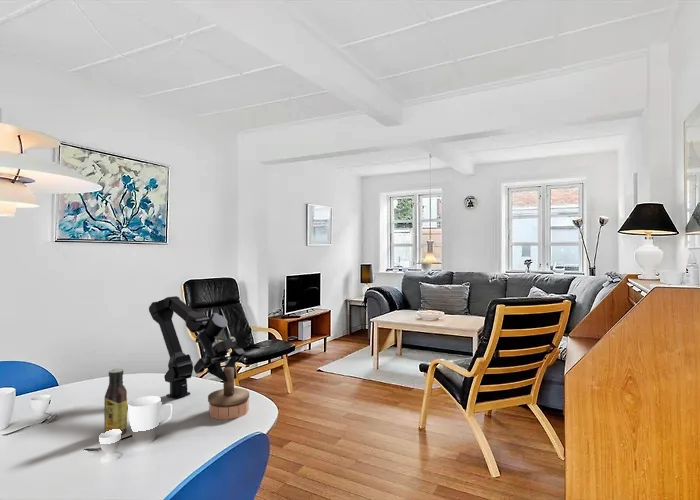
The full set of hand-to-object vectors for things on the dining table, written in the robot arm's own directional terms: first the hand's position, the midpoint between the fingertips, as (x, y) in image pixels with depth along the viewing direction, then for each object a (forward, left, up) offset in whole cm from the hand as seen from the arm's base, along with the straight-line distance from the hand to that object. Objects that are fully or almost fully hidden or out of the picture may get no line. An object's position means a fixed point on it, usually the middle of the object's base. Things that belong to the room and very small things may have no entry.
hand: (231, 379), depth 150 cm
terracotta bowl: (-1, 0, -11) cm, 12 cm away
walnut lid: (-1, 0, -7) cm, 7 cm away
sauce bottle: (-19, -30, -12) cm, 38 cm away
